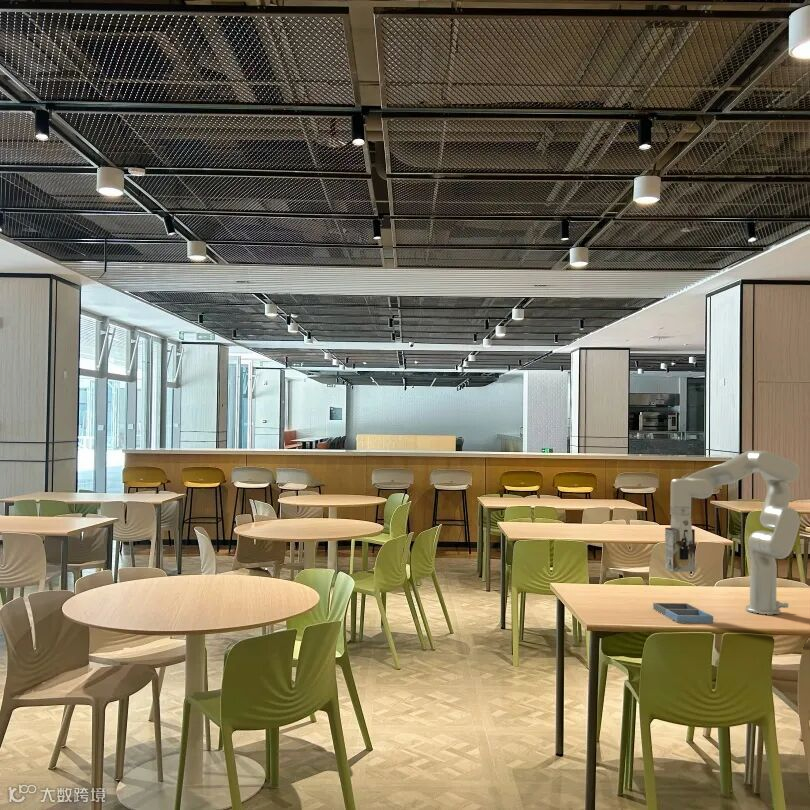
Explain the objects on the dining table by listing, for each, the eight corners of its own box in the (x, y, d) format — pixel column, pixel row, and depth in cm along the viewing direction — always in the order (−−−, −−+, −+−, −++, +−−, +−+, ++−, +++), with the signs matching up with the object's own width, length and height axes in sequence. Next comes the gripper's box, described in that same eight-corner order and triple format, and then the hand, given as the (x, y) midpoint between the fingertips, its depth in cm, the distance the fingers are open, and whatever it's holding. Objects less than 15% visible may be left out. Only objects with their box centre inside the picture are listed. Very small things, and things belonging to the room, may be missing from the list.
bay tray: (686, 609, 311) (686, 603, 312) (713, 623, 290) (713, 616, 290) (653, 609, 310) (653, 602, 310) (677, 622, 289) (677, 615, 289)
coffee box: (686, 568, 308) (687, 527, 308) (695, 571, 301) (695, 529, 302) (664, 569, 306) (665, 527, 307) (672, 572, 300) (673, 529, 300)
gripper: (700, 513, 296) (699, 561, 295) (680, 509, 313) (680, 554, 313) (680, 513, 296) (679, 561, 295) (662, 508, 313) (661, 554, 312)
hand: (679, 557), depth 304 cm, fingers closed on coffee box, 6 cm apart
